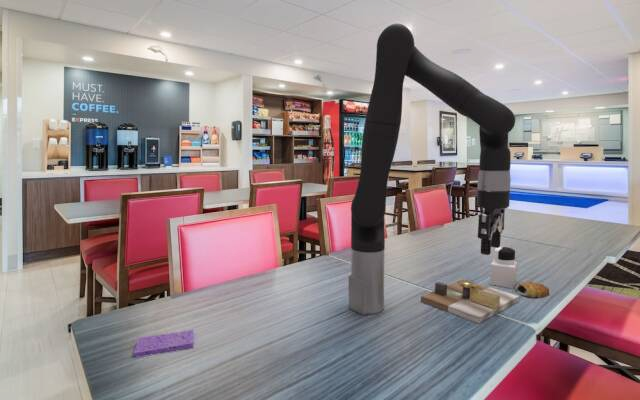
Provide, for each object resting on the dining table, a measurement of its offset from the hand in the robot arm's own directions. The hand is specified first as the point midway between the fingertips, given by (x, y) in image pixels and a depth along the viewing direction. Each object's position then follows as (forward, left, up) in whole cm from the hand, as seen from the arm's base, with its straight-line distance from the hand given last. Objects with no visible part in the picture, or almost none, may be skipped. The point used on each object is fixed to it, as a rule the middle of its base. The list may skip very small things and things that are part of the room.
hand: (490, 250), depth 96 cm
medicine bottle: (+28, +10, -18) cm, 35 cm away
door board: (+6, +9, -18) cm, 21 cm away
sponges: (-71, +40, -19) cm, 83 cm away
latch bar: (+4, +5, -16) cm, 17 cm away
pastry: (+26, 0, -19) cm, 32 cm away
